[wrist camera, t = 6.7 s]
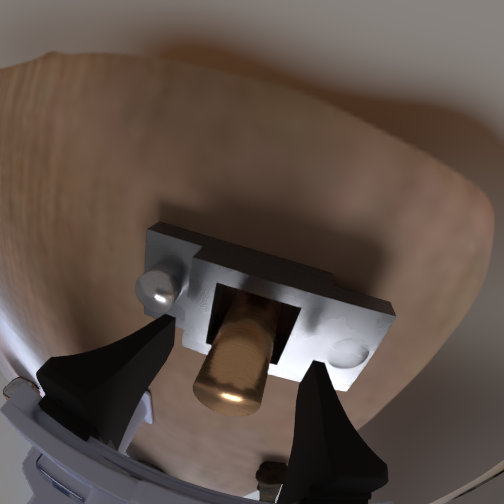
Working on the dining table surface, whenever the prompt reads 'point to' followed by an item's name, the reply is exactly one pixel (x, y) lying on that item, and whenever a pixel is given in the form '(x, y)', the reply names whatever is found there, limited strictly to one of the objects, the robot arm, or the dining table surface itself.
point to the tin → (17, 386)
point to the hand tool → (270, 480)
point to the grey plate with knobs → (267, 285)
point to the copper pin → (239, 357)
